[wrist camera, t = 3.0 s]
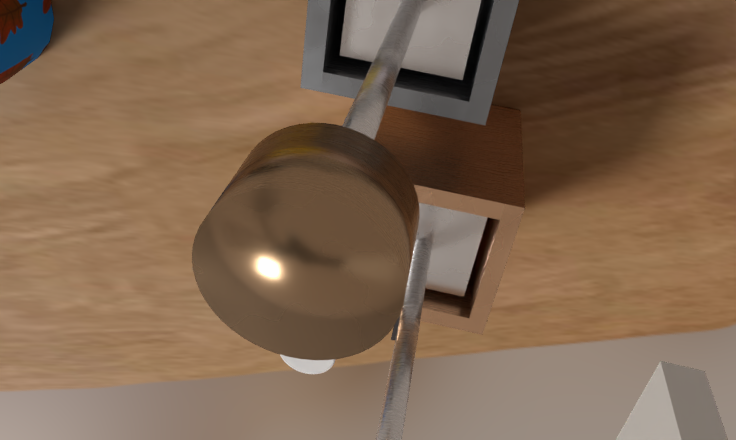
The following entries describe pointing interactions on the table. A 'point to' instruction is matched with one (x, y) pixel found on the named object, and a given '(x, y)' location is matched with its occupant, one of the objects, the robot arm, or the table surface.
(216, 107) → the table surface
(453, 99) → the grey box
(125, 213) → the table surface
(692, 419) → the robot arm
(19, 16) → the thermos
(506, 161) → the light wood box
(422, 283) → the grey capped rod
